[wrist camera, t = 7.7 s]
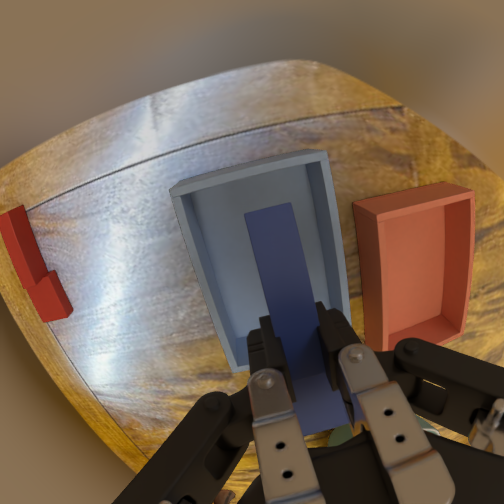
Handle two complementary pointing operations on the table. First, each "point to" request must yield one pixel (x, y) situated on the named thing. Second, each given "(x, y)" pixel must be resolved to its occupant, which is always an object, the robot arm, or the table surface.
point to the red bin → (416, 263)
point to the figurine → (224, 497)
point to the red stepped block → (33, 267)
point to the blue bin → (239, 245)
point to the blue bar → (294, 315)
